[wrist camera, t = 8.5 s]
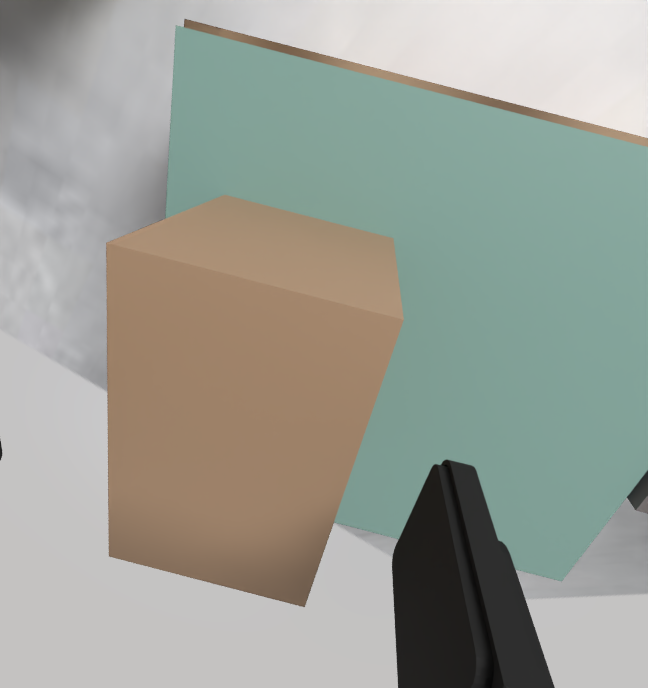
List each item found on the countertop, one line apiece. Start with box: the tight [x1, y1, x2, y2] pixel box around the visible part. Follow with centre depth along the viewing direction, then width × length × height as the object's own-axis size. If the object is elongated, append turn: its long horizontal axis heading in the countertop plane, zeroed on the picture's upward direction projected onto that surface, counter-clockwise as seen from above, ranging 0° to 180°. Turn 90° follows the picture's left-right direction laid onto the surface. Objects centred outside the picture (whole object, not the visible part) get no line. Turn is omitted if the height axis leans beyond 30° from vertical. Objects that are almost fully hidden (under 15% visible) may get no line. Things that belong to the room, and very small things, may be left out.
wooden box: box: [184, 19, 648, 513], centre depth 18 cm, size 23×16×10 cm
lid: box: [106, 25, 648, 607], centre depth 12 cm, size 17×15×7 cm
